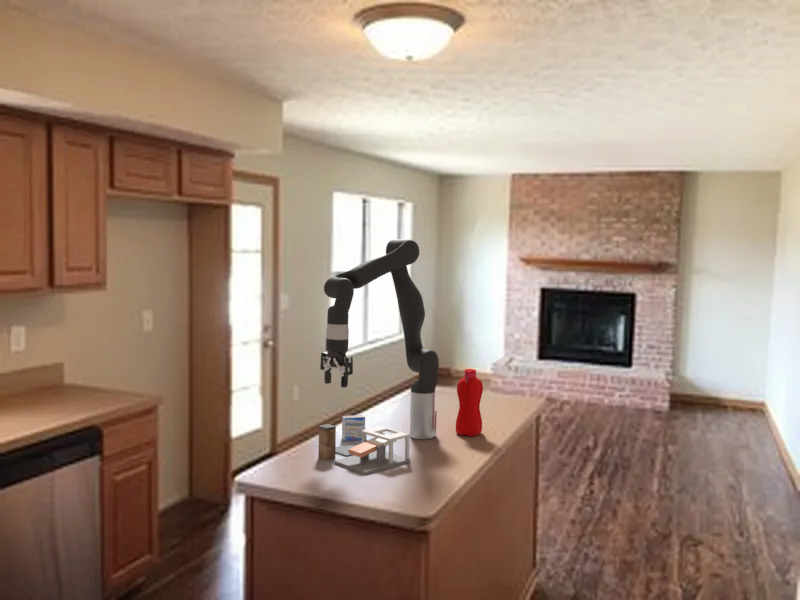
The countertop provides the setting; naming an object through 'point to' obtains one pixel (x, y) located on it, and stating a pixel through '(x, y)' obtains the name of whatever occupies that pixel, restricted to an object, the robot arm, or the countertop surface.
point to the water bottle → (469, 404)
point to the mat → (344, 449)
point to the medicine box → (352, 427)
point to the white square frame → (378, 453)
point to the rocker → (368, 446)
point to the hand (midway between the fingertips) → (335, 385)
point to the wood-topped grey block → (327, 441)
